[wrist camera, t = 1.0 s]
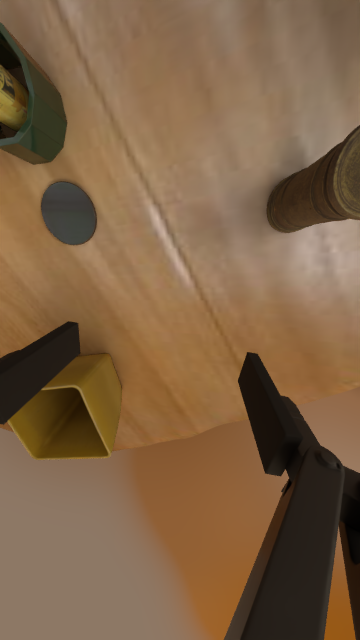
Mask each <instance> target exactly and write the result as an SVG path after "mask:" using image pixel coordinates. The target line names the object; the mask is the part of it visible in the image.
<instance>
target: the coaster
mask: <svg viewBox="0 0 360 640" xmlns="http://www.w3.org/2000/svg"><path fill="white" fill-rule="evenodd" d="M41 210H42V216H43V219H44V222H45V224H46V226H47V228H48V229H49V231H50V232H51V233H52V234H53V235H54V236H55V237H56V238H57V239H59V240H60V241H62V242H64V243H66V244H70V245H80V244H83V243H85V242H87V241H88V240H89V239H90V238H91V237H92V236H93V234H94V232H95V229H96V223H97V218H96V212H95V208H94V206H93V203H92V201H91V200H90V198H89V197H88V195H87V194H86V193H85V192H84V191H83V190H82V189H81V188H79V187H78V186H76V185H74V184H71V183H68V182H57V183H54V184H52V185H51V186H49V187H48V188H47V190H46V191H45V193H44V195H43V198H42V203H41Z"/></svg>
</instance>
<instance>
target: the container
mask: <svg viewBox="0 0 360 640" xmlns="http://www.w3.org/2000/svg"><path fill="white" fill-rule="evenodd" d="M267 218H268V221H269V223H270V225H271V226H272V227H273V228H274V229H275V230H277V231H280V232H284V233H290V232H295V231H298V230H301V229H303V228H305V227H309V226H312V225H314V224H319V223H325V222H331V221H342V220H346V219H355V220H360V125H359V126H358V127H357V128H356V129H354V130H353V131H352V132H351V133H350V134H349V135H348V136H347V137H346V139H345V140H344V141H343V142H341V143H339V144H338V145H336V146H335V147H334V148H332V149H331V150H330V151H329V152H328V153H327V154H326V155H324V156H323V157H321V158H320V159H319V160H317V161H316V162H315V163H313V164H312V165H310V166H309V167H308V168H305V169H303V170H301V171H299V172H297V173H294V174H292V175H291V176H289V177H287V178H285V179H284V180H283V181H281V182H280V183H279V184H278V185H277V186H276V188H275V189H274V190H273V192H272V194H271V196H270V198H269V201H268V204H267Z"/></svg>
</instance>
